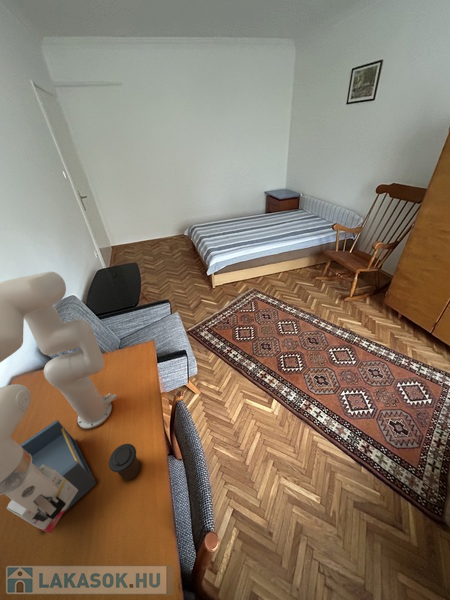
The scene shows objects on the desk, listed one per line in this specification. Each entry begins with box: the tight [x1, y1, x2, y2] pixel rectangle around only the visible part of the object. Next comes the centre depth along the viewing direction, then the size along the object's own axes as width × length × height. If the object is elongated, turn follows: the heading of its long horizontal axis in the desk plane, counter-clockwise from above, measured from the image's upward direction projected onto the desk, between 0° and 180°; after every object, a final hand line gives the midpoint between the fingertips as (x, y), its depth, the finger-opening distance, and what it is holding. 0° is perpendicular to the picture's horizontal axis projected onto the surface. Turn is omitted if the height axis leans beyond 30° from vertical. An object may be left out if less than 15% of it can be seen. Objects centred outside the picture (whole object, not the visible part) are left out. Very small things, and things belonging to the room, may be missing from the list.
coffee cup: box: [108, 443, 141, 481], centre depth 76 cm, size 8×8×10 cm
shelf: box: [19, 419, 97, 512], centre depth 74 cm, size 15×20×14 cm
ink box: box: [6, 464, 78, 534], centre depth 55 cm, size 9×5×12 cm, turn 163°
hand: (51, 501), depth 56 cm, fingers closed on ink box, 5 cm apart
